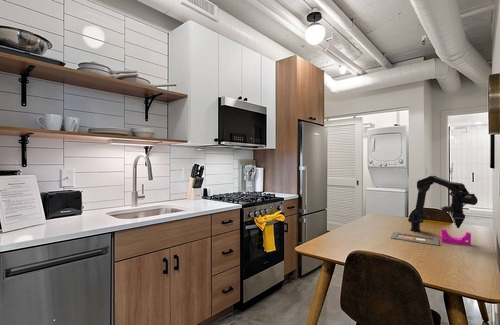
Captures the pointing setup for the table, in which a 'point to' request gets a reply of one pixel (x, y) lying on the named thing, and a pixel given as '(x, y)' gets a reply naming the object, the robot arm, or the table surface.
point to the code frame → (435, 240)
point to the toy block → (455, 240)
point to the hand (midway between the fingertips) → (457, 226)
